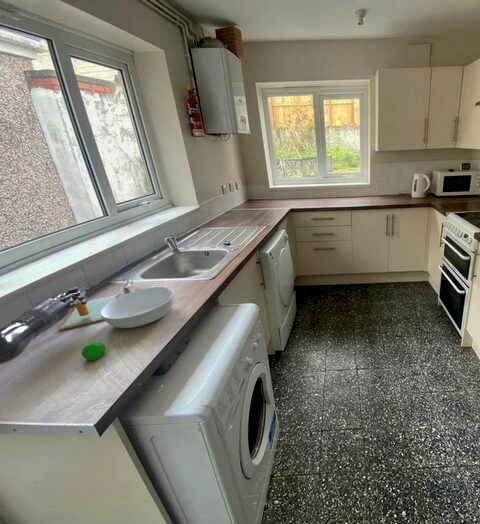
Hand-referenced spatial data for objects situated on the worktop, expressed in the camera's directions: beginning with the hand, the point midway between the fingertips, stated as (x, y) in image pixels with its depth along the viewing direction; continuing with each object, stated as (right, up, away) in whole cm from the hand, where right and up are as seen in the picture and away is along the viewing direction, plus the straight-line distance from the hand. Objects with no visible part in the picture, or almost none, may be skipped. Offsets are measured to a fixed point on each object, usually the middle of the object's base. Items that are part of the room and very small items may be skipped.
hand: (80, 290), depth 99 cm
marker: (+1, -8, 0) cm, 9 cm away
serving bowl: (+22, -10, +1) cm, 24 cm away
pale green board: (-2, -9, +6) cm, 11 cm away
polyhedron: (+21, -18, -18) cm, 33 cm away
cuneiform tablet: (+4, -4, +18) cm, 19 cm away
